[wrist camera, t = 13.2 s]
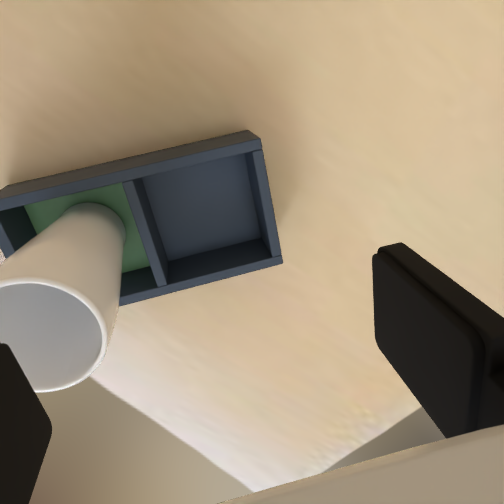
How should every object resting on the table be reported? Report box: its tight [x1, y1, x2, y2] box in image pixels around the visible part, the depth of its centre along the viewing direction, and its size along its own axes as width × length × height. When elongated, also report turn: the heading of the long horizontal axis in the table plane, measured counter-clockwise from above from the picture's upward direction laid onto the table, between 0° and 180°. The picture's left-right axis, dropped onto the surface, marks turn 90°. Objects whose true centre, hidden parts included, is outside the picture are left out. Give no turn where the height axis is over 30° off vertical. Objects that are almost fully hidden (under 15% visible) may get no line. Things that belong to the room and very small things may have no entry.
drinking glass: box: [0, 202, 126, 392], centre depth 26 cm, size 7×7×15 cm
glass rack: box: [0, 130, 283, 306], centre depth 31 cm, size 10×19×5 cm, turn 101°
